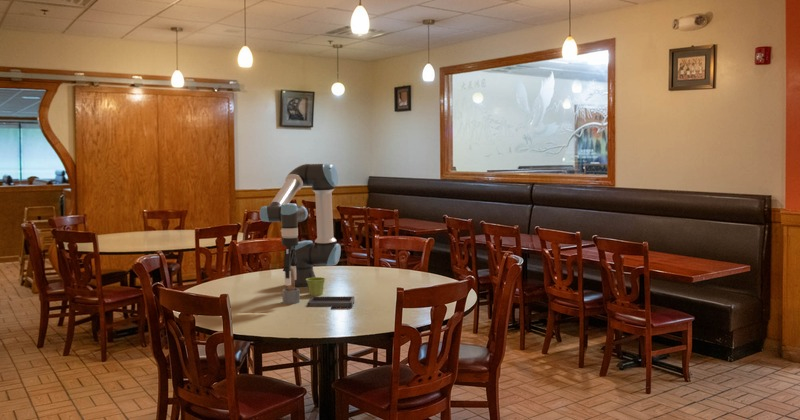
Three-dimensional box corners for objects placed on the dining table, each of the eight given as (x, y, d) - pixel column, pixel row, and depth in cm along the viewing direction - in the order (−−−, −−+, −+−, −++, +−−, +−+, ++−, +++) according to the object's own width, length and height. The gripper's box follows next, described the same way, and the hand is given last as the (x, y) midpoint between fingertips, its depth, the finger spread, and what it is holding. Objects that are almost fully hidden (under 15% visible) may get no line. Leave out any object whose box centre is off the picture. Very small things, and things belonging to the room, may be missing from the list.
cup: (284, 302, 318) (284, 287, 318) (300, 302, 318) (300, 287, 318) (281, 306, 311) (281, 291, 310) (298, 306, 311) (297, 291, 310)
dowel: (288, 301, 316) (287, 267, 315) (295, 301, 316) (295, 267, 315) (286, 303, 313) (285, 268, 311) (294, 302, 313) (293, 268, 311)
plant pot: (307, 298, 327) (307, 281, 326) (305, 295, 336) (304, 277, 335) (327, 297, 329) (326, 279, 328) (324, 293, 338) (323, 276, 337)
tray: (312, 301, 319) (312, 296, 319) (354, 301, 319) (354, 296, 319) (307, 308, 305) (307, 303, 305) (351, 308, 305) (351, 302, 305)
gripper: (286, 234, 325) (287, 277, 326) (276, 240, 300) (277, 287, 301) (302, 233, 324) (303, 277, 326) (293, 240, 300) (294, 287, 301)
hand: (290, 282), depth 314 cm, fingers open, 13 cm apart
